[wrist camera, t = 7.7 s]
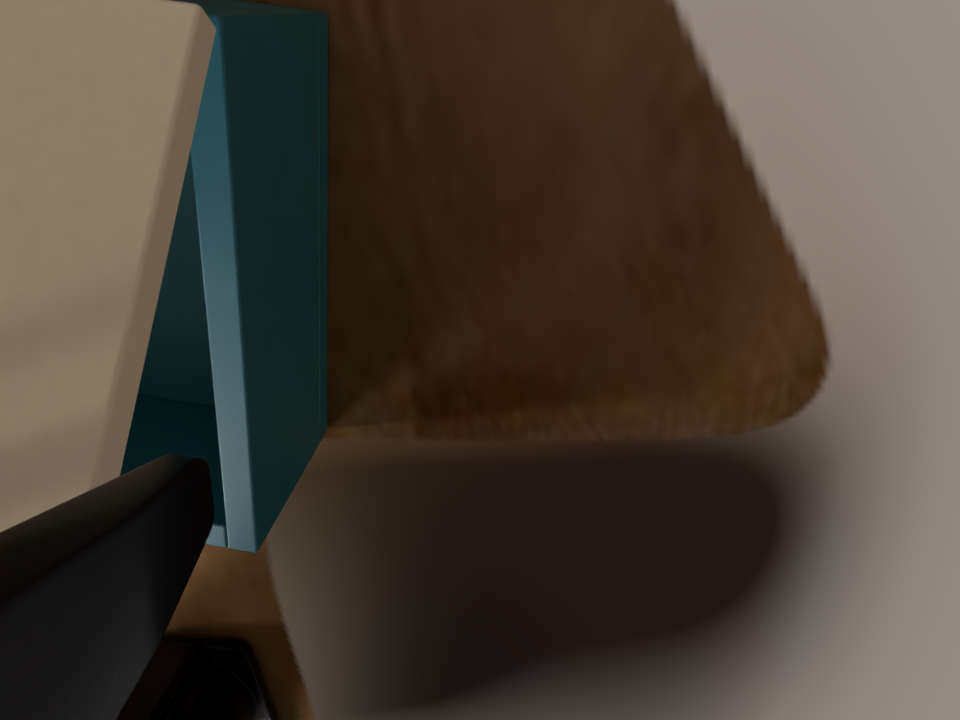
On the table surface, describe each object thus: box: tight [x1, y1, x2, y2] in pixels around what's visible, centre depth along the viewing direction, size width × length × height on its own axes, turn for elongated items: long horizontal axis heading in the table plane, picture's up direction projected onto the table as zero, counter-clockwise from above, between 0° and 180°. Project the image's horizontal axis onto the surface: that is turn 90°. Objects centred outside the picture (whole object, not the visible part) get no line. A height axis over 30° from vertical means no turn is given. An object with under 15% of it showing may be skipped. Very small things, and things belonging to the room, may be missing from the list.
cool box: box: [120, 0, 328, 553], centre depth 17 cm, size 13×12×6 cm
